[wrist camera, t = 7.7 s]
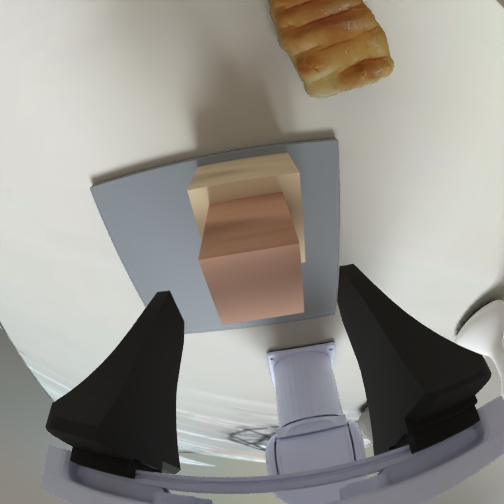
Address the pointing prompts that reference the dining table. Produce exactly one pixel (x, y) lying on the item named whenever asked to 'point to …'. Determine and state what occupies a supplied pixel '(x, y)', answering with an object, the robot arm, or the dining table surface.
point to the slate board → (189, 241)
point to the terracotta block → (252, 259)
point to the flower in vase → (486, 334)
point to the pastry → (332, 43)
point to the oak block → (248, 186)
